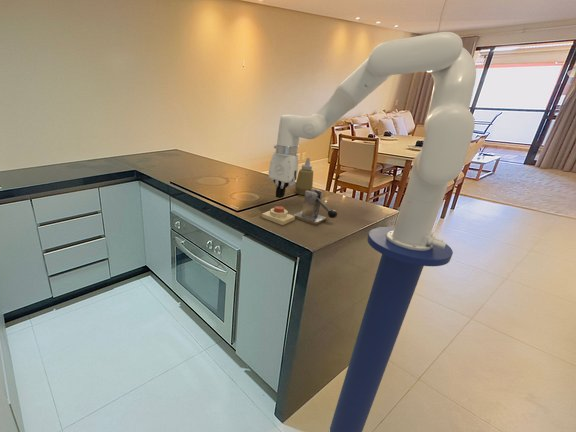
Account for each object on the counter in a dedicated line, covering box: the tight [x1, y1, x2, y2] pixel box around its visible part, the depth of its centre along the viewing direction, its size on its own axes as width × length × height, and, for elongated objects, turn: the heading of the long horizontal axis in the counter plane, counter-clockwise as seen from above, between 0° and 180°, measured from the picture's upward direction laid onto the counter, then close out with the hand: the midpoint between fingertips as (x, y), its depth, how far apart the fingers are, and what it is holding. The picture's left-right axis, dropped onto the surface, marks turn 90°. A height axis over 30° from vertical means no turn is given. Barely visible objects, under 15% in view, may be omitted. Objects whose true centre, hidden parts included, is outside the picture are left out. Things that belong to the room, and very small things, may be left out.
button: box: [274, 205, 285, 213], centre depth 117 cm, size 4×4×2 cm
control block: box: [261, 207, 296, 226], centre depth 118 cm, size 10×8×4 cm
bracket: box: [292, 188, 328, 226], centre depth 117 cm, size 10×8×12 cm
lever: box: [311, 190, 338, 219], centre depth 113 cm, size 13×3×3 cm
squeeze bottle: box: [294, 157, 314, 196], centre depth 144 cm, size 8×8×18 cm
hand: (279, 196), depth 115 cm, fingers closed
